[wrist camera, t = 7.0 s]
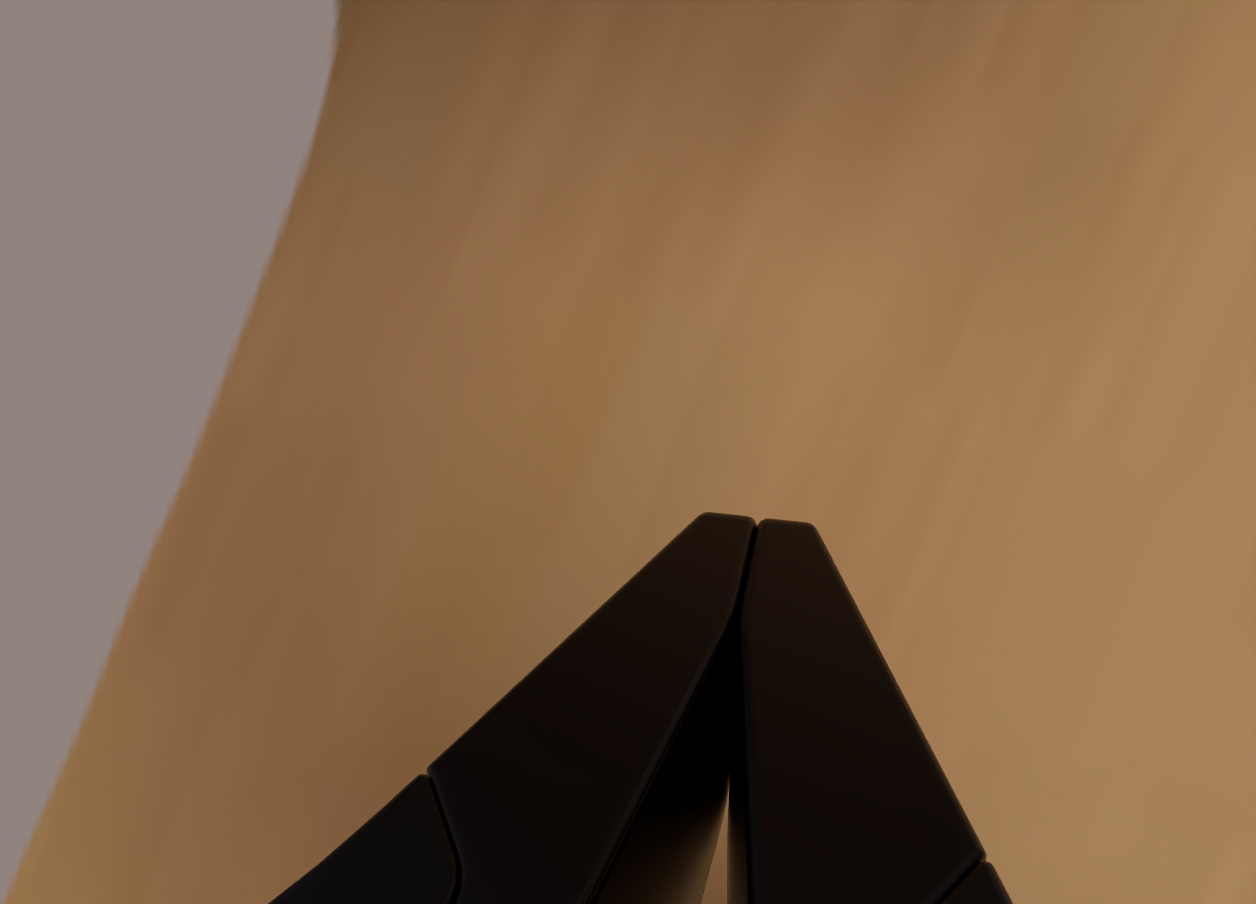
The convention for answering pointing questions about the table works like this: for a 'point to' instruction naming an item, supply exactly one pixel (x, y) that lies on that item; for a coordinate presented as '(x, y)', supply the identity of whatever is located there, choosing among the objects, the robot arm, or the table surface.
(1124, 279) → the table surface
